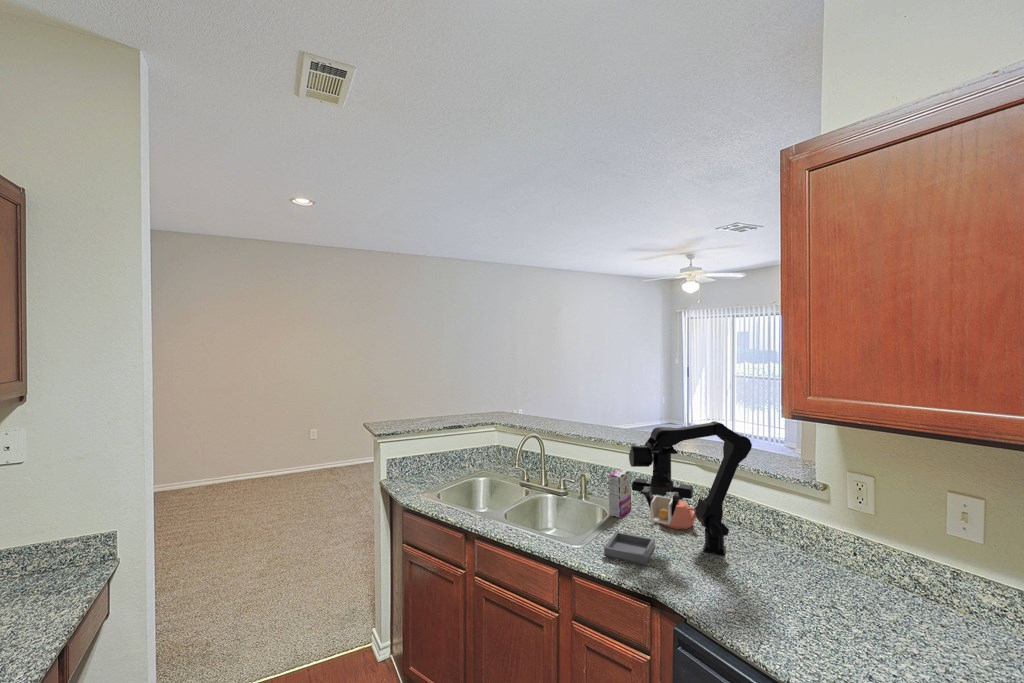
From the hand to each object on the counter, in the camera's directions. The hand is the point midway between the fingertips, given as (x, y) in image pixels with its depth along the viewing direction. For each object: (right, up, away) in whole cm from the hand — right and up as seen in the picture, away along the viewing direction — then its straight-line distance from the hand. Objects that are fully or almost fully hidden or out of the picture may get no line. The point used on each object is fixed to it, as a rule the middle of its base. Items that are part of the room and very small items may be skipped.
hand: (662, 514), depth 146 cm
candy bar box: (-6, -13, +33) cm, 36 cm away
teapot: (+12, -12, +22) cm, 28 cm away
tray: (-11, -12, -2) cm, 16 cm away
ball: (0, +1, -2) cm, 2 cm away
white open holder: (0, -2, 0) cm, 2 cm away
